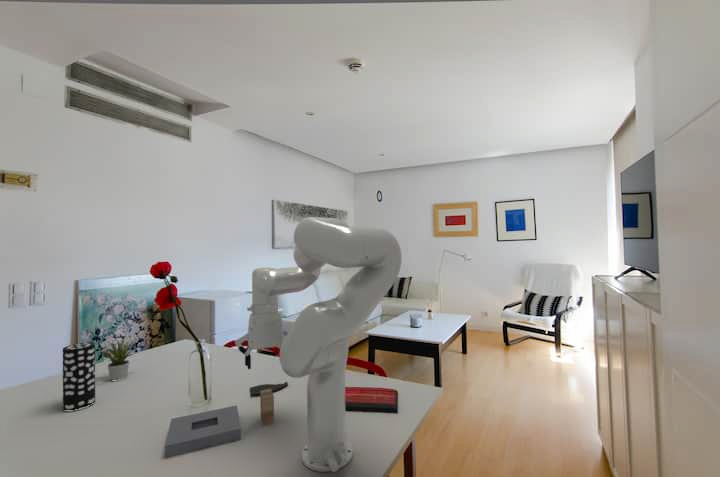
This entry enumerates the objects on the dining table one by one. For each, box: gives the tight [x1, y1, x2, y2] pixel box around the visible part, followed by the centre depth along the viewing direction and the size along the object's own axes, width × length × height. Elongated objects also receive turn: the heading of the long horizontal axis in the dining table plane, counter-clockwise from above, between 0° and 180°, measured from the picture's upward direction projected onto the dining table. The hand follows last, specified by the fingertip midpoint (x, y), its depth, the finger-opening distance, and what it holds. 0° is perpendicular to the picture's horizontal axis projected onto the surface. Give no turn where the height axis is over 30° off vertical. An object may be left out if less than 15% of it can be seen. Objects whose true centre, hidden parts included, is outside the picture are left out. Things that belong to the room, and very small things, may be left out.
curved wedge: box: [249, 381, 289, 398], centre depth 120 cm, size 8×14×2 cm, turn 111°
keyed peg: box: [259, 389, 275, 426], centre depth 99 cm, size 5×3×8 cm, turn 24°
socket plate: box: [164, 404, 242, 459], centre depth 92 cm, size 14×18×3 cm
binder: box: [345, 386, 398, 414], centre depth 110 cm, size 16×2×21 cm
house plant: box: [98, 337, 141, 381], centre depth 135 cm, size 14×14×16 cm
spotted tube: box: [62, 341, 96, 410], centre depth 111 cm, size 8×8×20 cm
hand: (265, 365), depth 100 cm, fingers open, 9 cm apart
